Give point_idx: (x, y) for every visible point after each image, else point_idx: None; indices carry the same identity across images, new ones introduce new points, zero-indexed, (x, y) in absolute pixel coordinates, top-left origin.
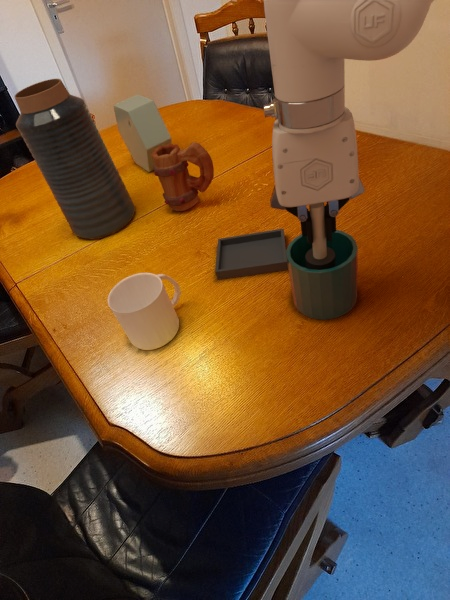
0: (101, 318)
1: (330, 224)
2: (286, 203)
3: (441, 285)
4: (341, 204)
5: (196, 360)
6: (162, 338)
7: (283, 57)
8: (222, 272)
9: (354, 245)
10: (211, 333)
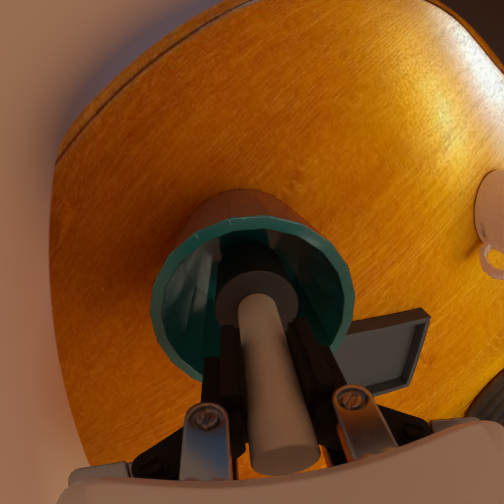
0: None
1: (224, 373)
2: (488, 434)
3: (52, 261)
4: (170, 449)
5: (453, 134)
6: (496, 177)
7: None
8: (419, 317)
9: (158, 322)
10: (439, 185)
